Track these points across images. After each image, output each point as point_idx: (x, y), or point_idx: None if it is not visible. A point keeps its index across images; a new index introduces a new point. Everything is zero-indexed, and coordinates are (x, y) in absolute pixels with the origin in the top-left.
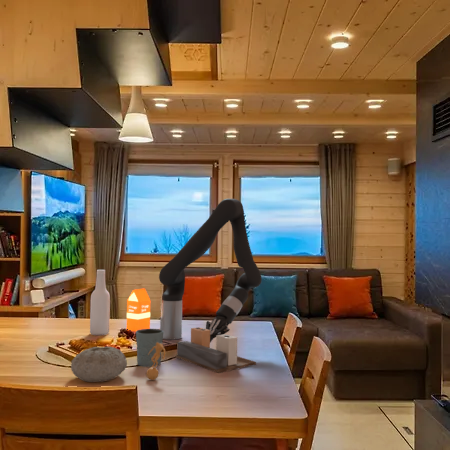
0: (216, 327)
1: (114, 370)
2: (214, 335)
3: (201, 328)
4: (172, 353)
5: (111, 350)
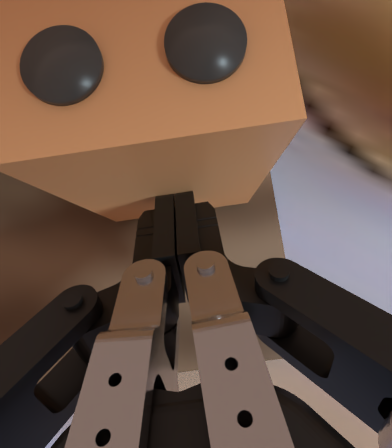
0: (88, 386)
1: None
2: (106, 298)
3: (184, 102)
4: (351, 67)
5: None
